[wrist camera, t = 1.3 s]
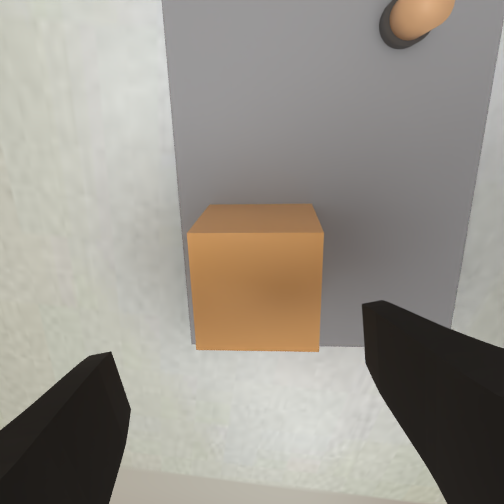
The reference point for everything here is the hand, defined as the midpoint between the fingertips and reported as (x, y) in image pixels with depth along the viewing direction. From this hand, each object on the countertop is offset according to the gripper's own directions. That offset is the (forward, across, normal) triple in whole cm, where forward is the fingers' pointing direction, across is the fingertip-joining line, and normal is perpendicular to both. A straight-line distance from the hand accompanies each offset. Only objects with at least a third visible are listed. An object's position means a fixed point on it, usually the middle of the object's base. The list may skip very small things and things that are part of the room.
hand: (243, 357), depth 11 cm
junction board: (+10, -5, -4) cm, 12 cm away
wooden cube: (+9, -2, 0) cm, 9 cm away
